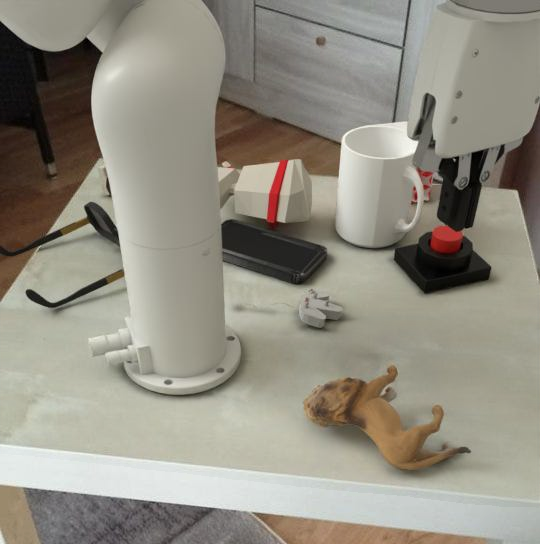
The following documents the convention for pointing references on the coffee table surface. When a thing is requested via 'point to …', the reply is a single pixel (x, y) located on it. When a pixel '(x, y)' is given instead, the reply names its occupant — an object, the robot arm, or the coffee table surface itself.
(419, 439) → the lion figurine
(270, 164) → the toy
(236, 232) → the phone
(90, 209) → the sunglasses
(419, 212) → the mug
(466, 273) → the button box
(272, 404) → the coffee table surface
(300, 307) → the game controller
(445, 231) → the button
